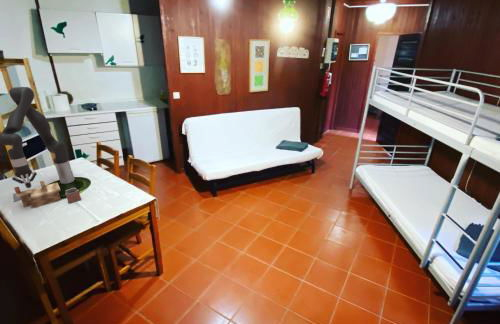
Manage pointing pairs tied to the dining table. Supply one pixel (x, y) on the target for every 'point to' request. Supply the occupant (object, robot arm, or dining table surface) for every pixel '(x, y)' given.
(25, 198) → the toolbox
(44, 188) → the lid
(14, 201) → the mat
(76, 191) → the lighter
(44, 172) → the dining table surface
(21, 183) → the robot arm
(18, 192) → the wooden block with peg
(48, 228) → the dining table surface
